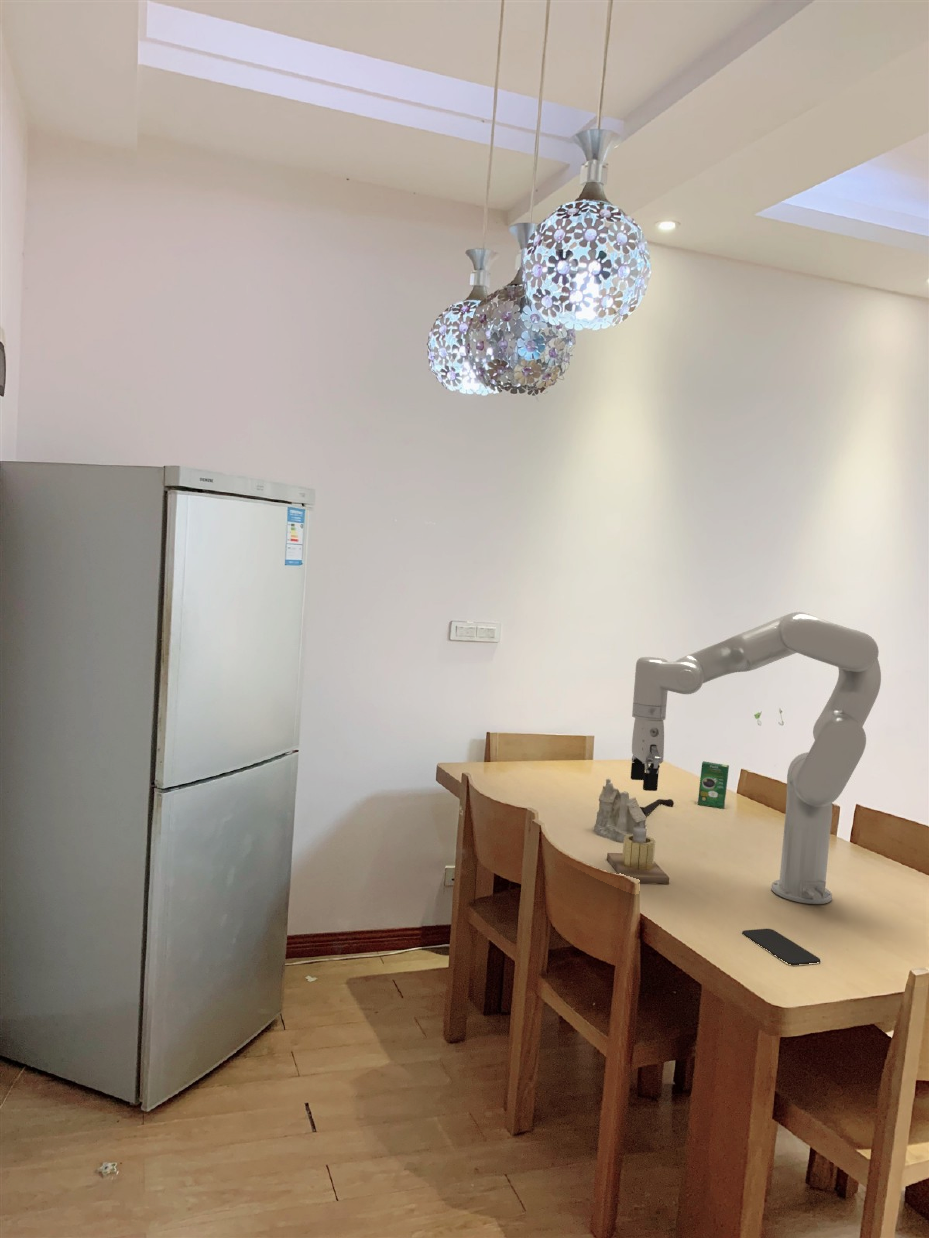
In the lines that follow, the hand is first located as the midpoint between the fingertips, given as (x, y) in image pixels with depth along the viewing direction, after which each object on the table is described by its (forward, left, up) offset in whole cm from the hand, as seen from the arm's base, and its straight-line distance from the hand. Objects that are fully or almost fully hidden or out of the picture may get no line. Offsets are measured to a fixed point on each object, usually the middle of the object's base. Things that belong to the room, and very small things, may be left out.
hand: (643, 784), depth 207 cm
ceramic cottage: (+29, -5, -21) cm, 36 cm away
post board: (0, 0, -20) cm, 20 cm away
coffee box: (+60, -41, -20) cm, 76 cm away
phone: (-40, -16, -21) cm, 48 cm away
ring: (0, 0, -19) cm, 19 cm away
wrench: (+47, -19, -21) cm, 55 cm away
